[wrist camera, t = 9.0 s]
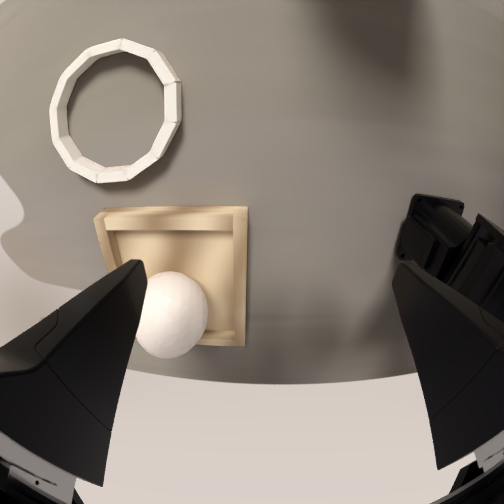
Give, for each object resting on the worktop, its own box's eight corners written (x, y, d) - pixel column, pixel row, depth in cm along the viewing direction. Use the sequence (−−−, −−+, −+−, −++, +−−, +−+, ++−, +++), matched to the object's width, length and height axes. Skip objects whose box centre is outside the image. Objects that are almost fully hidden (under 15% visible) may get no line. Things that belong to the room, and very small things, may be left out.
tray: (247, 206, 20) (247, 218, 19) (245, 331, 28) (244, 346, 26) (104, 208, 20) (93, 218, 19) (137, 325, 28) (132, 338, 26)
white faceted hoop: (182, 32, 13) (177, 27, 12) (183, 172, 19) (179, 178, 18) (58, 63, 13) (48, 63, 12) (68, 181, 19) (59, 187, 17)
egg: (221, 268, 23) (212, 340, 16) (202, 315, 26) (191, 383, 19) (152, 245, 21) (119, 311, 15) (142, 296, 24) (117, 360, 18)
